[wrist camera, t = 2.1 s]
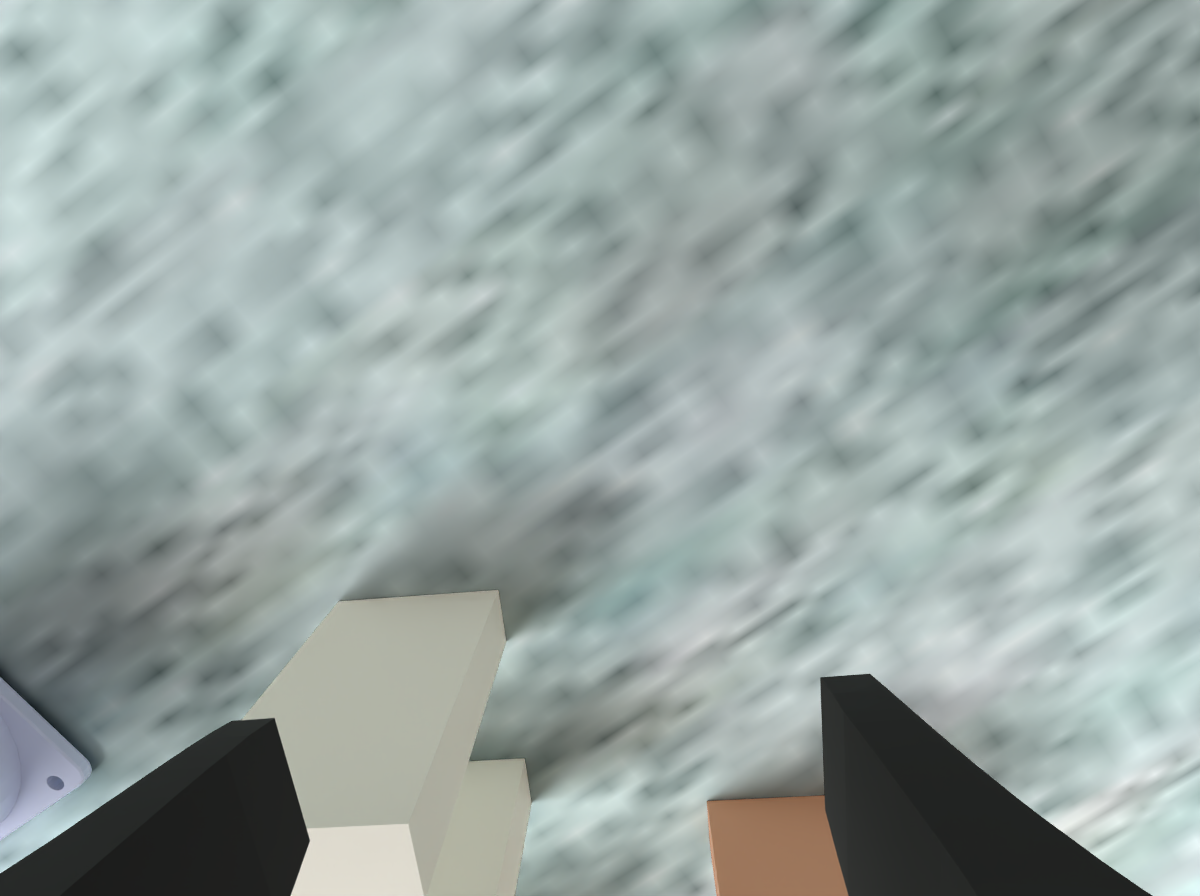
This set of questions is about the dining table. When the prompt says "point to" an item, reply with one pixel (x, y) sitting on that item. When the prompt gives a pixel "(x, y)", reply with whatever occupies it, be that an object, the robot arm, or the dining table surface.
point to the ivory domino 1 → (384, 734)
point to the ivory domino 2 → (485, 832)
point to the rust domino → (773, 848)
